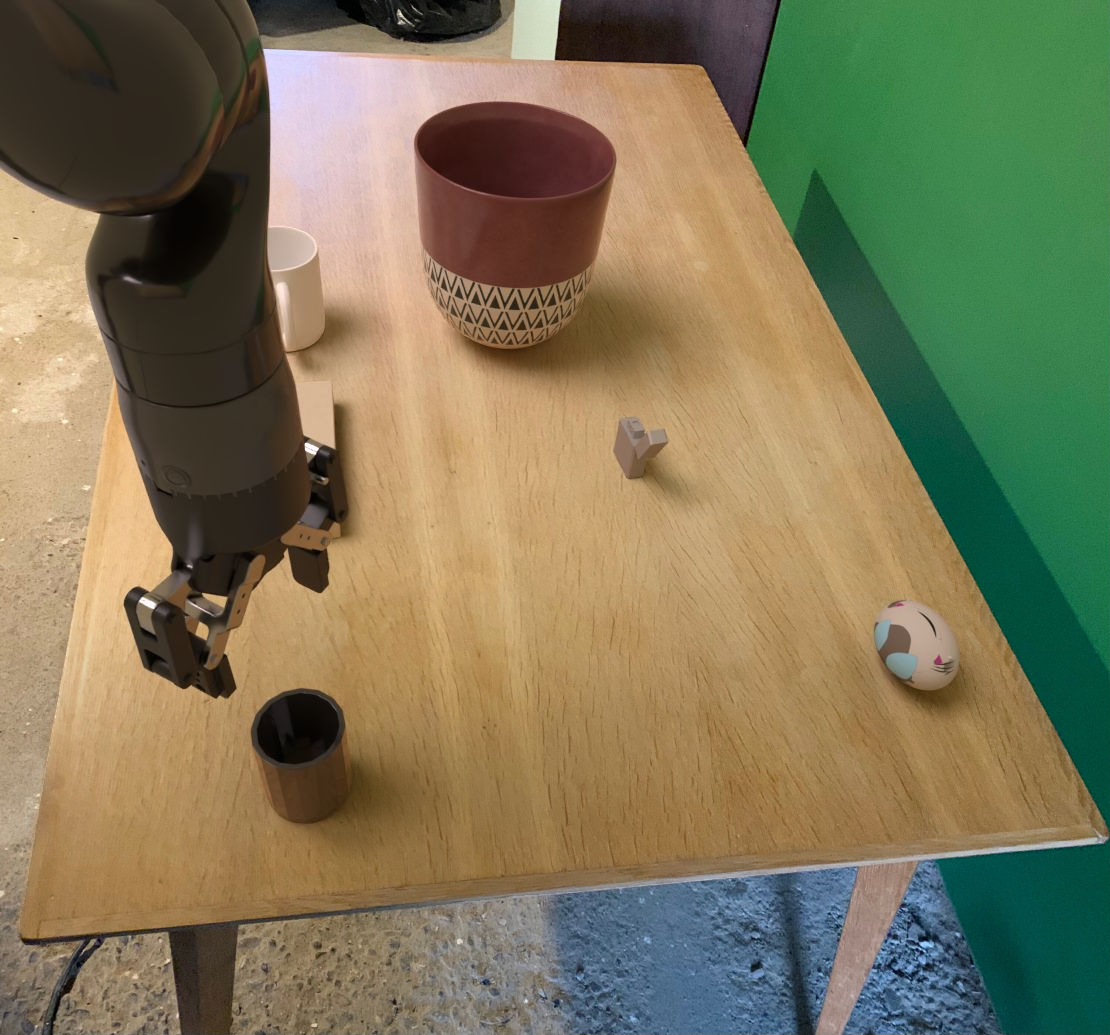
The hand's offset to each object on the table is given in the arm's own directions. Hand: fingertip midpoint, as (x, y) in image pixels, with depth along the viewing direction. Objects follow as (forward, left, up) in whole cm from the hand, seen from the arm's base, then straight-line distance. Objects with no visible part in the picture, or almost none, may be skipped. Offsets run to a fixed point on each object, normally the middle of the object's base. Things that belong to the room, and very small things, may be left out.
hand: (267, 634), depth 56 cm
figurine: (+33, -37, -18) cm, 53 cm away
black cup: (0, -1, -18) cm, 18 cm away
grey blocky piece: (+42, -8, -18) cm, 46 cm away
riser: (+23, +22, -18) cm, 36 cm away
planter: (+55, +14, -18) cm, 59 cm away
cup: (+40, +32, -18) cm, 54 cm away
